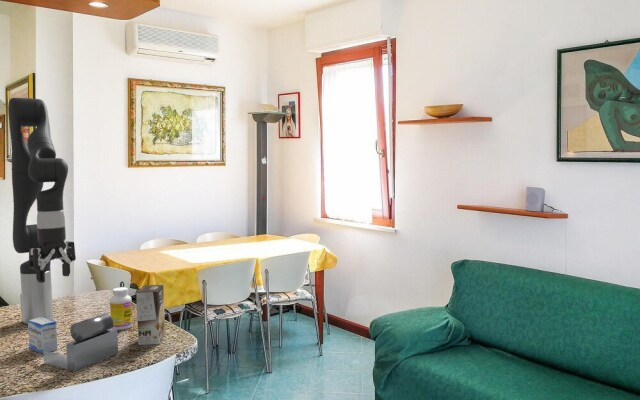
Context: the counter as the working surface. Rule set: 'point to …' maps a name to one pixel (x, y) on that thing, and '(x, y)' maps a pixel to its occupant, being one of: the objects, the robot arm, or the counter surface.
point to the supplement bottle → (121, 309)
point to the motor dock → (87, 344)
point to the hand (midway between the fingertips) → (54, 279)
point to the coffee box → (150, 314)
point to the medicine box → (42, 335)
